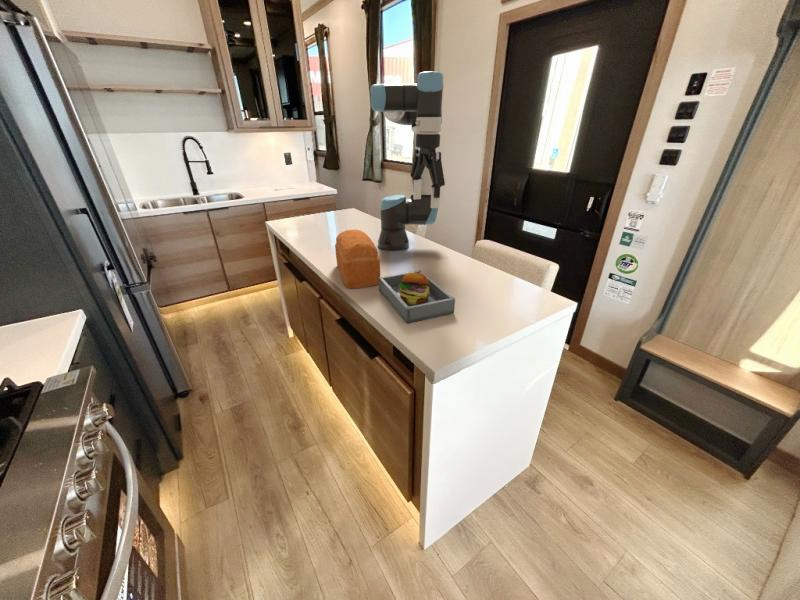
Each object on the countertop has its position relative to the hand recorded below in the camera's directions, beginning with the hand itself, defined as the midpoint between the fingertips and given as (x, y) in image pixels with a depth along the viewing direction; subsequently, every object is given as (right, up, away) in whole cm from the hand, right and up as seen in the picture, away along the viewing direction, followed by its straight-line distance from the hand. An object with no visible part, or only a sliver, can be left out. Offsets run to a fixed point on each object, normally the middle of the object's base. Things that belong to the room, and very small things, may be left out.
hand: (425, 203), depth 109 cm
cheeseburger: (-4, -33, -4) cm, 33 cm away
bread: (-25, -23, +17) cm, 38 cm away
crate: (-4, -33, -3) cm, 34 cm away
